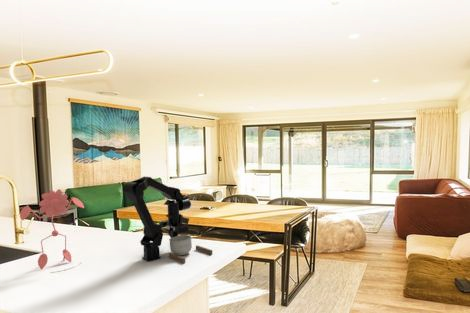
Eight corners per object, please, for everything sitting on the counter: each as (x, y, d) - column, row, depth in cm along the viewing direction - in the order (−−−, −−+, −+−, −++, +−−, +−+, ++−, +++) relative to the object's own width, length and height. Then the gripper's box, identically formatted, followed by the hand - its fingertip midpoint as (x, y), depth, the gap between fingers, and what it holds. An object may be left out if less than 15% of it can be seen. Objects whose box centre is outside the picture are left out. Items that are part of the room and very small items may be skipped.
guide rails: (183, 263, 155) (183, 259, 155) (168, 257, 164) (168, 253, 164) (212, 254, 167) (212, 250, 167) (197, 249, 176) (197, 245, 176)
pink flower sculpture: (20, 269, 152) (17, 191, 150) (81, 256, 170) (78, 185, 168) (28, 280, 141) (24, 195, 139) (92, 264, 158) (90, 188, 156)
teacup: (180, 258, 162) (180, 241, 161) (165, 254, 168) (164, 238, 168) (200, 250, 173) (200, 235, 173) (185, 247, 179) (185, 232, 179)
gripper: (197, 212, 174) (198, 242, 175) (176, 207, 187) (177, 235, 188) (179, 216, 166) (180, 248, 167) (158, 211, 180) (159, 240, 180)
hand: (174, 242), depth 176 cm, fingers closed
